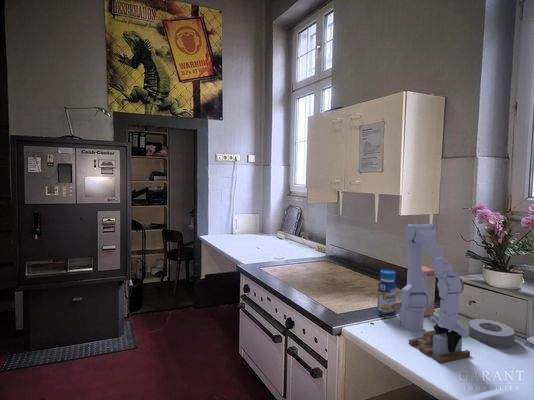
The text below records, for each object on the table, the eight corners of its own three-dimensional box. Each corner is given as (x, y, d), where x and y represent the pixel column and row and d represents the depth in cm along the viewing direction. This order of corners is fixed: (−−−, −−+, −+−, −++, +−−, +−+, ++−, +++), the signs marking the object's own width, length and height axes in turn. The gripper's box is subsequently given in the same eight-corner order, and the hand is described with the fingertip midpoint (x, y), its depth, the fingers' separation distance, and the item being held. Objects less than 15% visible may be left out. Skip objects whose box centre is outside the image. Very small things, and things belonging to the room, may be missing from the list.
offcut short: (423, 338, 132) (423, 332, 132) (435, 336, 135) (436, 329, 134) (429, 342, 130) (429, 335, 130) (442, 339, 132) (442, 333, 132)
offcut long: (417, 344, 132) (417, 339, 132) (436, 341, 135) (436, 336, 135) (423, 348, 129) (424, 343, 129) (443, 344, 132) (443, 339, 132)
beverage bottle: (389, 310, 168) (391, 268, 166) (400, 317, 160) (401, 273, 158) (373, 311, 166) (374, 269, 164) (382, 318, 158) (384, 274, 156)
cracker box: (434, 316, 162) (436, 270, 160) (422, 316, 161) (424, 271, 159) (416, 304, 175) (418, 262, 174) (405, 305, 174) (407, 263, 173)
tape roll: (503, 353, 129) (504, 339, 129) (460, 337, 141) (461, 324, 141) (520, 341, 138) (521, 328, 138) (478, 327, 150) (479, 315, 150)
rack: (408, 346, 133) (408, 339, 133) (437, 340, 138) (437, 334, 137) (440, 366, 119) (440, 359, 119) (471, 359, 124) (472, 352, 123)
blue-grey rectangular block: (432, 354, 125) (433, 335, 124) (454, 350, 128) (455, 331, 128) (439, 359, 122) (440, 339, 121) (461, 354, 125) (462, 334, 125)
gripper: (424, 305, 129) (422, 341, 130) (458, 320, 116) (455, 361, 117) (439, 302, 132) (437, 338, 133) (474, 317, 118) (471, 357, 119)
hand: (447, 349), depth 125 cm, fingers open, 3 cm apart
